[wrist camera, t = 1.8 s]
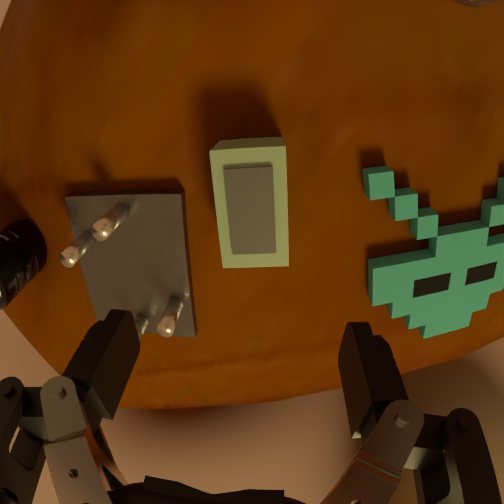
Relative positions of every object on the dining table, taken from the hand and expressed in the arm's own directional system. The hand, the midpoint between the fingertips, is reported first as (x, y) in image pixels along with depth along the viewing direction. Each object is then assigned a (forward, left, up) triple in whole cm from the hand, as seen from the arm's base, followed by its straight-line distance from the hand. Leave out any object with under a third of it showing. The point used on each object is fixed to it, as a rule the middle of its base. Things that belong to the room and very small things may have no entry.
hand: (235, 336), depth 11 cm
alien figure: (+5, +21, -18) cm, 28 cm away
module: (0, 0, -17) cm, 17 cm away
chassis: (+8, -12, -17) cm, 22 cm away
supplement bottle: (+6, -27, -17) cm, 32 cm away
